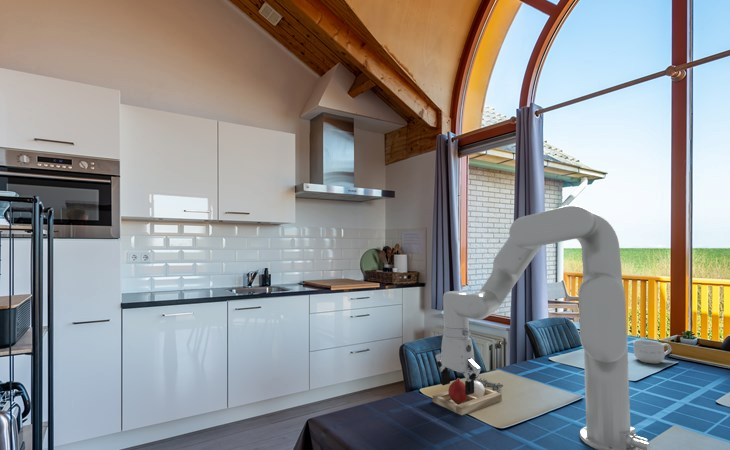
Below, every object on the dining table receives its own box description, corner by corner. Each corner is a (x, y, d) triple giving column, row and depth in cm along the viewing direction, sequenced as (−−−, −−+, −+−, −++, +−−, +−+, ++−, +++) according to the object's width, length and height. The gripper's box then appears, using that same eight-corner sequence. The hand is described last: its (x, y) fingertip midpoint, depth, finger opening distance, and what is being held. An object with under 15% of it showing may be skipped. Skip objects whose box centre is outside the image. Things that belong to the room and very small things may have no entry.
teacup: (638, 364, 161) (638, 344, 162) (629, 357, 172) (628, 338, 172) (679, 367, 157) (678, 346, 157) (667, 359, 167) (666, 340, 168)
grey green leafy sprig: (505, 397, 129) (504, 385, 129) (484, 400, 127) (484, 387, 127) (486, 386, 139) (486, 374, 140) (467, 388, 138) (467, 376, 138)
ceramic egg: (488, 398, 125) (488, 381, 125) (477, 402, 122) (477, 385, 122) (475, 393, 129) (475, 377, 129) (464, 397, 126) (464, 380, 126)
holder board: (502, 404, 123) (501, 394, 123) (462, 419, 113) (461, 408, 113) (471, 392, 133) (471, 382, 133) (432, 405, 123) (432, 395, 123)
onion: (444, 402, 122) (444, 376, 122) (459, 399, 124) (459, 373, 125) (456, 409, 117) (456, 382, 117) (472, 406, 119) (471, 379, 119)
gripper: (487, 335, 117) (488, 395, 116) (444, 325, 131) (445, 378, 130) (469, 339, 112) (471, 401, 112) (427, 328, 127) (428, 383, 126)
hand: (457, 388), depth 121 cm, fingers open, 9 cm apart
